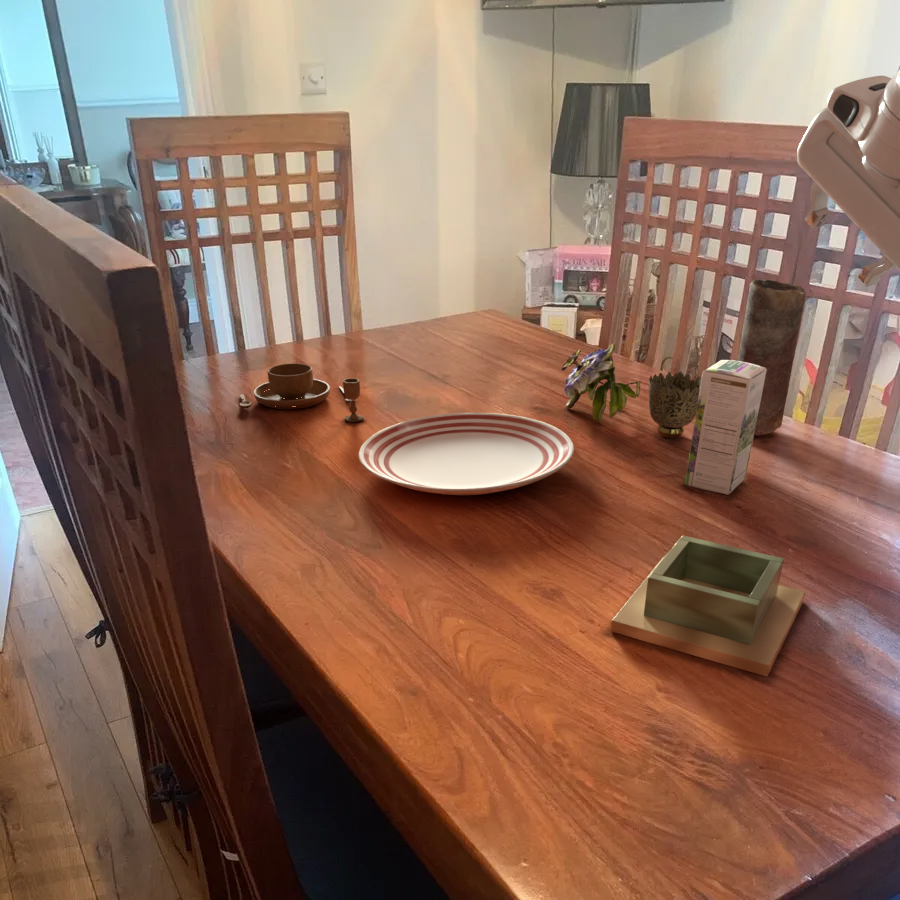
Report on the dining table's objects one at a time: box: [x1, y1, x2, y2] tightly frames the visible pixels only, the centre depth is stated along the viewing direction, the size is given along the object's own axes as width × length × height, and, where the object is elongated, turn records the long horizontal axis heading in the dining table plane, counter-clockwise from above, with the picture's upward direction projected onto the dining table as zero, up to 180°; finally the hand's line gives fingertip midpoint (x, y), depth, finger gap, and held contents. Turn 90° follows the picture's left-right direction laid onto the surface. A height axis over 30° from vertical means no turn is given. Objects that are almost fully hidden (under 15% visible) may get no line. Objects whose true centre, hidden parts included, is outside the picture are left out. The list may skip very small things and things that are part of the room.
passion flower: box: [560, 343, 642, 424], centre depth 129 cm, size 11×11×12 cm
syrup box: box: [684, 359, 767, 496], centre depth 103 cm, size 6×6×14 cm
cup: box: [648, 371, 702, 439], centre depth 119 cm, size 8×7×8 cm
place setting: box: [239, 362, 364, 423], centre depth 132 cm, size 18×20×6 cm
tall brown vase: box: [737, 278, 807, 436], centre depth 117 cm, size 8×7×20 cm
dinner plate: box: [358, 412, 575, 496], centre depth 111 cm, size 27×27×3 cm
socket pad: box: [610, 535, 806, 677], centre depth 79 cm, size 14×14×5 cm
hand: (839, 251), depth 95 cm, fingers open, 8 cm apart
